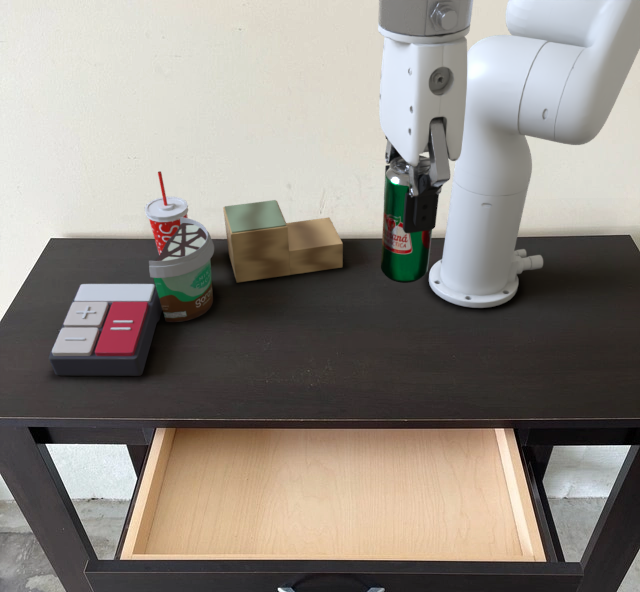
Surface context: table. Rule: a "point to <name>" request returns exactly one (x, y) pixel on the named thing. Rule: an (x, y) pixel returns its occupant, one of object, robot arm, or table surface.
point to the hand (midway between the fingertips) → (408, 213)
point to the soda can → (397, 246)
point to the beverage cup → (165, 216)
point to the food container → (184, 272)
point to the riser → (278, 242)
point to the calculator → (107, 330)
